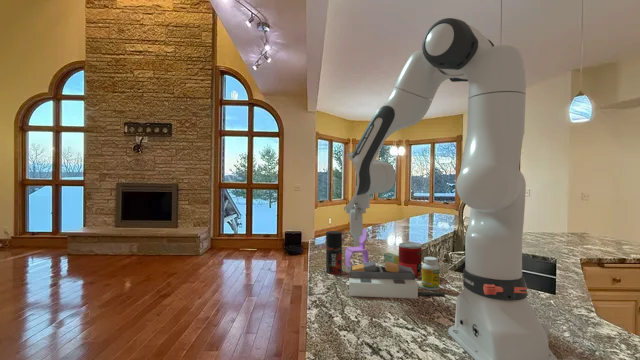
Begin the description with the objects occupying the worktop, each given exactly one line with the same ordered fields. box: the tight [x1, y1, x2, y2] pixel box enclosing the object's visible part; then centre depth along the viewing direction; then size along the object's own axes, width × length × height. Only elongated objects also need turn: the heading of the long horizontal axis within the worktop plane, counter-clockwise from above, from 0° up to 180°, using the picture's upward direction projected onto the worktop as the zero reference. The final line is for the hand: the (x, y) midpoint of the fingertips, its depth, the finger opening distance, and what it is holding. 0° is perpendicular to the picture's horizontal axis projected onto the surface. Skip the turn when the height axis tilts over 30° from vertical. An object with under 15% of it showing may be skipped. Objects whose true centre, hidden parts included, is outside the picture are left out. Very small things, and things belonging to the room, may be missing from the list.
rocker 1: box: [383, 261, 411, 273], centre depth 100 cm, size 5×8×2 cm, turn 84°
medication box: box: [383, 252, 399, 265], centre depth 128 cm, size 12×3×4 cm, turn 29°
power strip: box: [348, 265, 446, 300], centre depth 98 cm, size 12×28×6 cm, turn 84°
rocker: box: [351, 260, 377, 272], centre depth 101 cm, size 5×8×2 cm, turn 84°
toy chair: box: [344, 228, 370, 269], centre depth 125 cm, size 8×9×15 cm
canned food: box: [398, 242, 422, 278], centre depth 115 cm, size 8×8×11 cm
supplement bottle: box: [421, 256, 440, 291], centre depth 101 cm, size 5×5×10 cm
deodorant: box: [325, 230, 343, 275], centre depth 118 cm, size 6×6×15 cm
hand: (356, 245), depth 102 cm, fingers closed
